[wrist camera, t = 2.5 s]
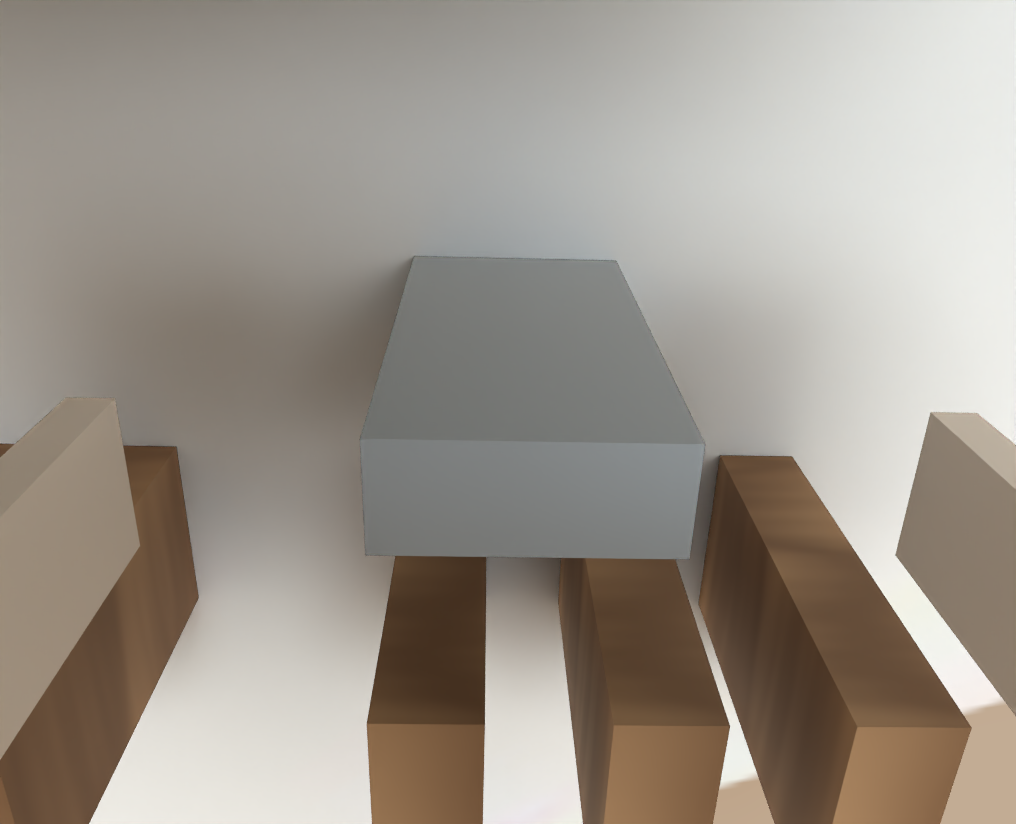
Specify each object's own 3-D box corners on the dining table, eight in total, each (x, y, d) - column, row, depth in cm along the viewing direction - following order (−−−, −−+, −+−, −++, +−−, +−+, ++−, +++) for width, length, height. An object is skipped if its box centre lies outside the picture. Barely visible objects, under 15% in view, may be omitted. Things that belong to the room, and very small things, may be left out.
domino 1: (129, 597, 26) (-64, 918, 17) (101, 445, 24) (-138, 720, 15) (198, 597, 26) (42, 918, 17) (176, 446, 24) (-16, 720, 15)
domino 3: (610, 336, 23) (689, 559, 14) (415, 333, 23) (365, 555, 14) (616, 260, 22) (704, 444, 13) (413, 256, 22) (359, 438, 13)
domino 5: (698, 603, 26) (807, 919, 17) (720, 455, 24) (857, 727, 15) (764, 604, 26) (908, 919, 17) (791, 456, 24) (971, 727, 15)
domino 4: (558, 601, 26) (594, 919, 17) (567, 453, 24) (613, 725, 15) (625, 602, 26) (695, 919, 17) (640, 454, 24) (729, 726, 15)
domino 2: (416, 600, 26) (376, 919, 17) (413, 450, 24) (367, 723, 15) (484, 601, 26) (480, 919, 17) (487, 451, 24) (485, 725, 15)
